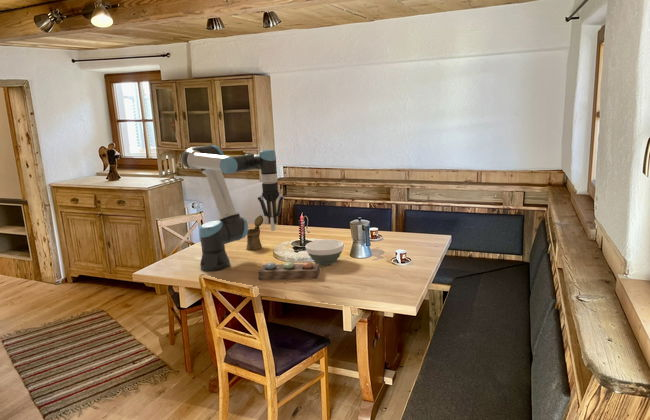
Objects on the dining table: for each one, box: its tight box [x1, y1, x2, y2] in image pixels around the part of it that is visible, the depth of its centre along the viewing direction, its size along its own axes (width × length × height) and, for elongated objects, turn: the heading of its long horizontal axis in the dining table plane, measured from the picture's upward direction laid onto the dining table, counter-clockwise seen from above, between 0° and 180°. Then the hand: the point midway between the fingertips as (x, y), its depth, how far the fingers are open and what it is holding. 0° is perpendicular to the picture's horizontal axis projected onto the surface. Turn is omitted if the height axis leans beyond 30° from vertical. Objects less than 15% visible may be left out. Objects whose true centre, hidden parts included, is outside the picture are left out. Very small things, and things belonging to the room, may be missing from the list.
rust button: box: [302, 261, 314, 269], centre depth 222 cm, size 5×5×4 cm
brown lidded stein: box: [246, 215, 264, 251], centre depth 274 cm, size 9×14×18 cm, turn 148°
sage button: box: [283, 261, 295, 269], centre depth 223 cm, size 5×5×4 cm
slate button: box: [264, 262, 277, 270], centre depth 224 cm, size 5×5×4 cm
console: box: [257, 263, 321, 281], centre depth 223 cm, size 28×10×4 cm, turn 83°
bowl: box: [305, 238, 345, 267], centre depth 239 cm, size 20×20×10 cm
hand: (273, 229), depth 229 cm, fingers closed
